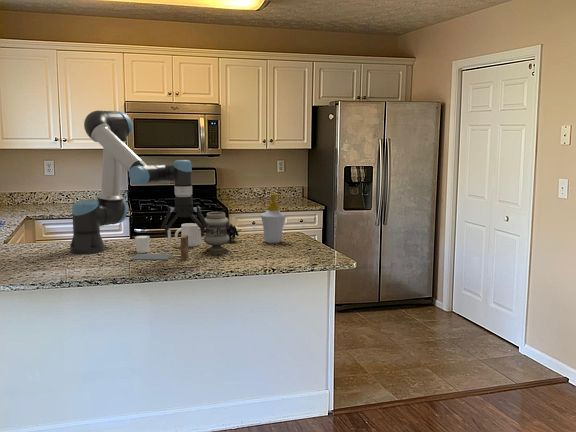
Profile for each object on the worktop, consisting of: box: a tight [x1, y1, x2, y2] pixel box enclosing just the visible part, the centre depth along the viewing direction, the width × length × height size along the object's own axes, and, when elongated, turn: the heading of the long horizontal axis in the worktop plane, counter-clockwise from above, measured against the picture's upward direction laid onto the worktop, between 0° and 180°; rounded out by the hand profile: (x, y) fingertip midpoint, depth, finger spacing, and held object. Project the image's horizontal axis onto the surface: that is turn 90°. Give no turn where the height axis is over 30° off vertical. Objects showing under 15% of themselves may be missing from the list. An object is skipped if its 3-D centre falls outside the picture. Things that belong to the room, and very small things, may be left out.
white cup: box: [134, 235, 151, 254], centre depth 264 cm, size 7×7×7 cm
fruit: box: [226, 223, 242, 243], centre depth 288 cm, size 10×11×15 cm
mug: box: [174, 222, 200, 248], centre depth 278 cm, size 12×8×10 cm
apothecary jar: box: [203, 211, 230, 254], centre depth 266 cm, size 12×12×18 cm
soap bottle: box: [260, 193, 287, 244], centre depth 288 cm, size 13×13×25 cm
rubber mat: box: [130, 253, 173, 261], centre depth 253 cm, size 16×10×1 cm, turn 90°
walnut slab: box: [180, 235, 189, 261], centre depth 250 cm, size 2×6×10 cm, turn 0°
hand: (185, 244), depth 249 cm, fingers open, 13 cm apart
